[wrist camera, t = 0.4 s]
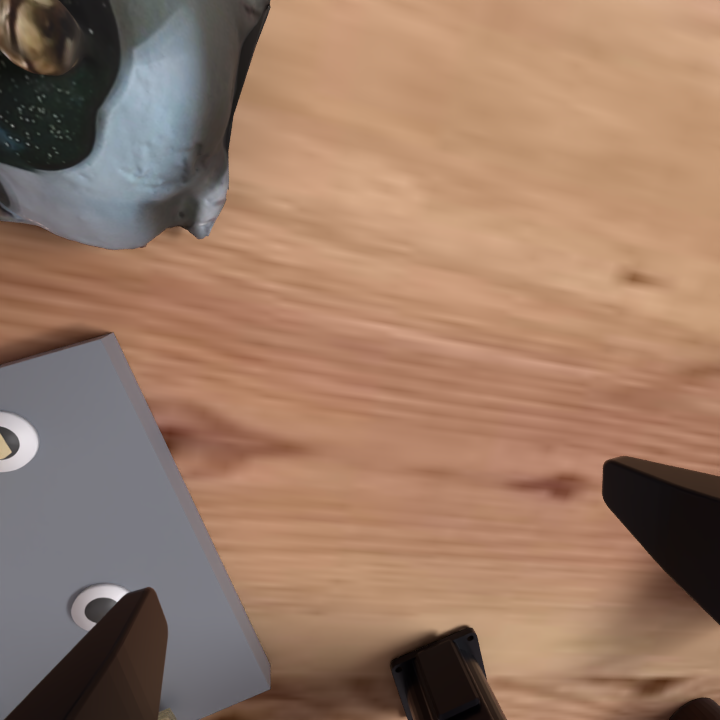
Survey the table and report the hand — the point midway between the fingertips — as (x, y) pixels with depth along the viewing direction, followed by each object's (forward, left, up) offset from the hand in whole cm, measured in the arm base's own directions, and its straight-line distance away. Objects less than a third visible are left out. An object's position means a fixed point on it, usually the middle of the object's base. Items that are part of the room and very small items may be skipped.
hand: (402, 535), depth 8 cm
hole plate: (-7, +16, -14) cm, 23 cm away
